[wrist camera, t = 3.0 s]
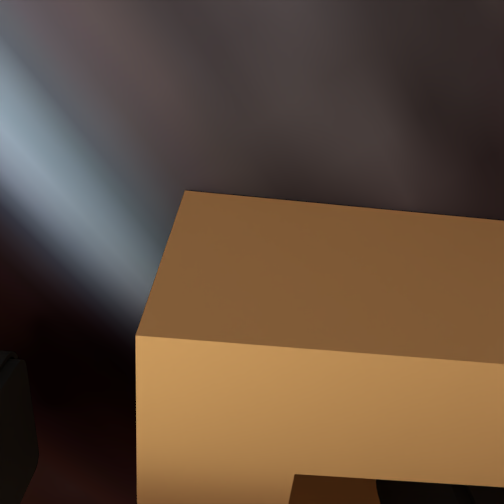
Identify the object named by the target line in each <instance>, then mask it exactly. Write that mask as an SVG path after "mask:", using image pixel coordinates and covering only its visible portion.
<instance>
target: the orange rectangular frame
mask: <svg viewBox="0 0 504 504" xmlns="http://www.w3.org/2000/svg"><path fill="white" fill-rule="evenodd" d="M135 341H136V442H137V504H380V500H379V497H378V493H377V488H376V479H381V480H397V481H413V482H428V483H444V484H460V485H475V486H491V487H504V221H502V220H491V219H480V218H470V217H459V216H449V215H438V214H428V213H417V212H406V211H396V210H385V209H375V208H364V207H354V206H343V205H332V204H322V203H311V202H301V201H290V200H280V199H269V198H258V197H248V196H237V195H227V194H216V193H206V192H195V191H185V192H184V195H183V198H182V201H181V204H180V206H179V209H178V212H177V215H176V218H175V221H174V224H173V227H172V230H171V233H170V236H169V239H168V242H167V245H166V247H165V250H164V253H163V256H162V259H161V262H160V265H159V268H158V271H157V274H156V277H155V280H154V283H153V286H152V288H151V291H150V294H149V297H148V300H147V303H146V306H145V309H144V312H143V315H142V318H141V321H140V324H139V327H138V329H137V332H136V335H135Z"/></svg>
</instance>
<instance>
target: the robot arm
mask: <svg viewBox="0 0 504 504" xmlns="http://www.w3.org/2000/svg"><path fill="white" fill-rule="evenodd" d="M38 457H39V449H38V442H37V435H36V428H35V421H34V414H33V407H32V400H31V393H30V386H29V379H28V372H27V365H26V362H25V360H22V359H18V355H17V354H16V352H13V351H0V504H20V502H21V500H22V498H23V496H24V494H25V491H26V489H27V487H28V485H29V483H30V480H31V478H32V476H33V474H34V472H35V469H36V466H37V463H38ZM376 488H377V493H378V497H379V500H380V504H504V487H491V486H475V485H460V484H444V483H428V482H413V481H397V480H381V479H376Z"/></svg>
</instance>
